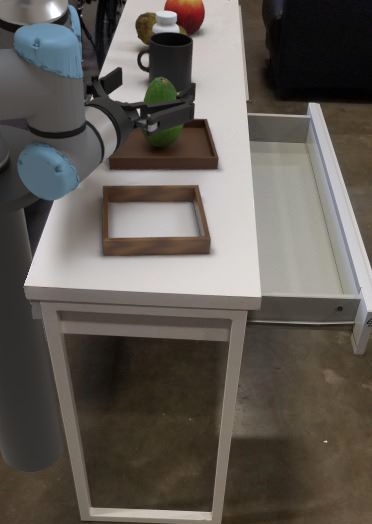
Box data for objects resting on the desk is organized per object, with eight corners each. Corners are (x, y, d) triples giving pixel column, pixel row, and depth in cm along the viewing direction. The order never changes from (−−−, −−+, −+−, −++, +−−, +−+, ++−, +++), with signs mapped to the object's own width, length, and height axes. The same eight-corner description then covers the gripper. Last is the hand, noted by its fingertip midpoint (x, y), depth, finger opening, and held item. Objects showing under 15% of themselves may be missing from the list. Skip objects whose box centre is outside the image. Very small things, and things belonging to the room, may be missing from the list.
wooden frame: (104, 255, 84) (103, 240, 82) (103, 199, 95) (102, 185, 93) (209, 253, 86) (211, 239, 84) (197, 198, 96) (198, 184, 94)
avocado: (139, 154, 104) (138, 84, 96) (140, 135, 110) (139, 67, 101) (183, 156, 105) (186, 86, 96) (182, 136, 110) (185, 69, 101)
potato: (188, 56, 141) (189, 19, 136) (135, 54, 140) (135, 17, 134) (186, 44, 147) (187, 8, 141) (135, 43, 146) (134, 6, 140)
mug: (137, 75, 132) (136, 30, 125) (189, 76, 132) (192, 32, 126) (137, 91, 125) (136, 45, 119) (192, 93, 126) (194, 47, 119)
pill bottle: (179, 72, 134) (181, 18, 126) (152, 72, 133) (152, 17, 125) (177, 63, 138) (179, 9, 130) (151, 62, 137) (151, 9, 129)
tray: (110, 169, 101) (109, 158, 100) (108, 128, 112) (108, 118, 111) (217, 169, 103) (218, 157, 102) (206, 129, 114) (207, 118, 113)
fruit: (155, 28, 155) (156, -16, 147) (189, 23, 159) (191, -20, 152) (177, 40, 149) (178, -5, 141) (211, 35, 153) (215, -10, 146)
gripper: (26, 138, 90) (92, 91, 103) (173, 175, 84) (222, 121, 98) (18, 88, 84) (89, 45, 98) (175, 124, 79) (227, 73, 92)
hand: (156, 83), depth 98 cm, fingers open, 13 cm apart
